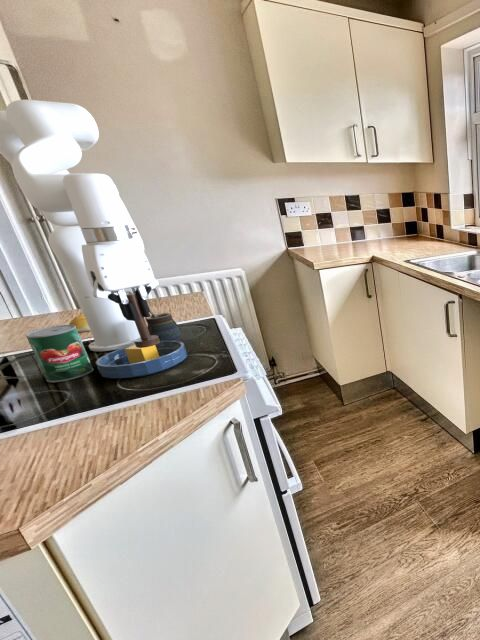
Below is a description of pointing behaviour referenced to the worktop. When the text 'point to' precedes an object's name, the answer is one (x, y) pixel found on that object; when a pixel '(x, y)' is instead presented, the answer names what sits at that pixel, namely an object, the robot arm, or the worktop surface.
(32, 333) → the canned tomato
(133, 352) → the block
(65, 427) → the worktop surface
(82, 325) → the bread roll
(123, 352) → the bowl
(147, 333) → the muddler
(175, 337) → the mate gourd
